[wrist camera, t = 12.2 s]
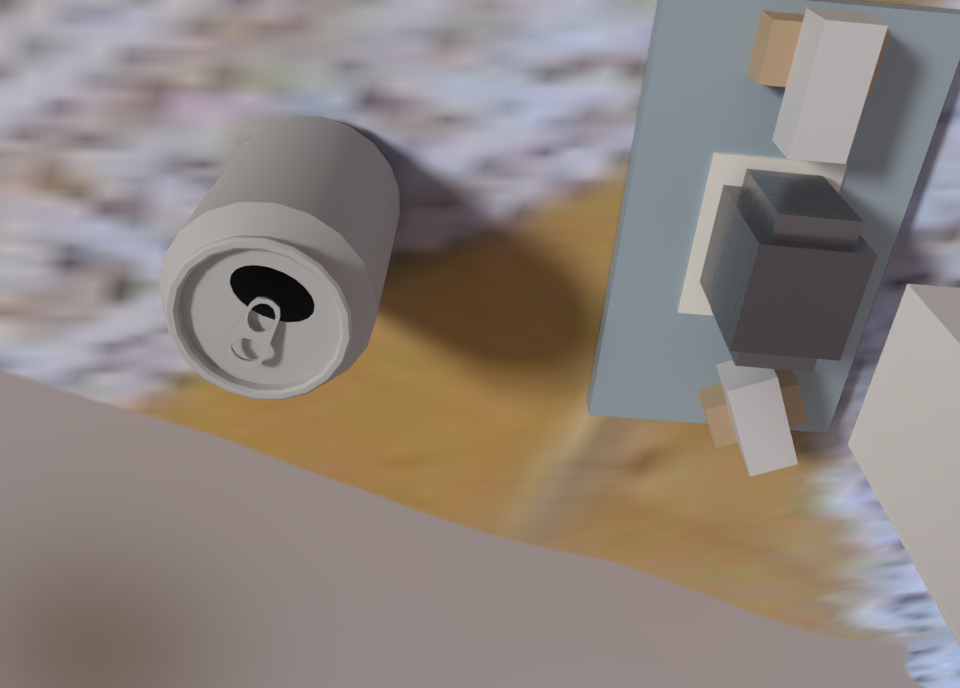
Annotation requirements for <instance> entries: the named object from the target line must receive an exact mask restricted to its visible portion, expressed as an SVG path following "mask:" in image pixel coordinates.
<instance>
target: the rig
mask: <svg viewBox="0 0 960 688" xmlns="http://www.w3.org/2000/svg"><path fill="white" fill-rule="evenodd" d="M959 60H960V10H956V9H946V8H935V7H924V6H913V5H903V4H892V3H881V2H870V1H859V0H658V3H657V9H656V14H655V20H654V25H653V31H652V37H651V42H650V48H649V54H648V59H647V65H646V71H645V76H644V82H643V88H642V93H641V99H640V105H639V110H638V116H637V121H636V127H635V133H634V138H633V144H632V150H631V155H630V161H629V167H628V172H627V178H626V184H625V189H624V195H623V201H622V206H621V212H620V217H619V223H618V229H617V234H616V240H615V246H614V251H613V257H612V263H611V268H610V274H609V280H608V285H607V291H606V296H605V302H604V308H603V313H602V319H601V325H600V330H599V336H598V342H597V347H596V353H595V359H594V364H593V370H592V376H591V381H590V387H589V392H588V398H587V404H588V411H589V415H597V416H610V417H623V418H636V419H649V420H662V421H675V422H688V423H701V424H707V425H708V429H709V431H710V434H711V437H712V440H713V443H714V446H715V449H716V448H720V447H723V446H727V445H731V444H734V443H738V446H739V449H740V452H741V454H742V457H743V460H744V462H745V465H746V468H747V470H748V473H749V475H750V476H754V475H758V474H762V473H765V472H769V471H773V470H777V469H781V468H785V467H788V466H792V465H796V464H798V462H797V458H796V453H795V449H794V445H793V441H792V436H791V432H790V430H791V431H804V432H817V433H828V431H829V428H830V425H831V422H832V419H833V417H834V414H835V411H836V408H837V405H838V402H839V400H840V397H841V394H842V391H843V388H844V385H845V383H846V380H847V377H848V374H849V371H850V368H851V366H852V363H853V360H854V357H855V354H856V351H857V349H858V346H859V343H860V340H861V337H862V335H863V332H864V329H865V326H866V323H867V320H868V318H869V315H870V312H871V309H872V306H873V303H874V301H875V298H876V295H877V292H878V289H879V286H880V284H881V281H882V278H883V275H884V272H885V269H886V267H887V264H888V261H889V258H890V255H891V252H892V250H893V247H894V244H895V241H896V238H897V235H898V233H899V230H900V227H901V224H902V221H903V218H904V216H905V213H906V210H907V207H908V204H909V201H910V199H911V196H912V193H913V190H914V187H915V184H916V182H917V179H918V176H919V173H920V170H921V167H922V165H923V162H924V159H925V156H926V153H927V150H928V148H929V145H930V142H931V139H932V136H933V133H934V131H935V128H936V125H937V122H938V119H939V116H940V114H941V111H942V108H943V105H944V102H945V99H946V97H947V94H948V91H949V88H950V85H951V82H952V80H953V77H954V74H955V71H956V68H957V65H958V63H959ZM746 169H756V170H767V171H777V172H788V173H799V174H809V175H820V176H824V178H825V179H826V180H827V181H828V182H829V183H830V184H831V185H832V187H833V188H834V189H835V190H836V191H837V192H838V193H839V194H840V196H841V197H842V198H843V199H844V200H845V201H846V202H847V203H848V205H849V206H850V207H851V208H852V209H853V210H854V211H855V212H856V214H857V215H858V216H859V217H860V218H861V219H862V220H863V221H864V224H863V227H862V230H861V233H860V235H861V237H862V238H863V239H864V240H865V241H866V242H867V244H868V245H869V246H870V247H871V248H872V249H873V251H874V252H875V253H876V254H877V258H876V260H875V263H874V266H873V269H872V272H871V274H870V277H869V280H868V283H867V286H866V289H865V291H864V294H863V297H862V300H861V303H860V306H859V308H858V311H857V314H856V317H855V320H854V322H853V325H852V328H851V331H850V334H849V337H848V339H847V342H846V345H845V348H844V351H843V354H842V356H841V359H840V361H837V360H826V359H818V360H817V362H816V365H815V368H814V371H813V372H802V371H791V370H779V369H768V368H756V367H745V366H735V364H734V362H733V359H732V357H731V355H730V352H729V350H728V348H727V345H726V343H725V341H724V338H723V336H722V334H721V331H720V329H719V327H718V325H717V322H716V320H715V318H714V315H713V313H712V311H711V307H710V304H709V302H708V300H707V297H706V295H705V293H704V290H703V288H702V286H701V283H700V278H701V274H702V270H703V266H704V262H705V258H706V254H707V250H708V246H709V242H710V238H711V233H712V229H713V225H714V221H715V217H716V213H717V209H718V205H719V201H720V197H721V193H722V189H723V185H730V186H741V187H742V185H743V181H744V177H745V173H746Z"/></svg>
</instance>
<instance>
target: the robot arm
mask: <svg viewBox="0 0 960 688" xmlns="http://www.w3.org/2000/svg"><path fill="white" fill-rule="evenodd" d="M848 446H849V448H850V450H851V452H852V453H853V455H854V457H855V459H856V461H857V462H858V464H859V466H860V468H861V470H862V471H863V473H864V475H865V477H866V479H867V480H868V482H869V484H870V486H871V488H872V489H873V491H874V493H875V495H876V497H877V498H878V500H879V502H880V504H881V506H882V507H883V509H884V511H885V513H886V515H887V516H888V518H889V520H890V522H891V524H892V526H893V527H894V529H895V531H896V533H897V535H898V536H899V538H900V540H901V542H902V544H903V545H904V547H905V549H906V551H907V553H908V554H909V556H910V558H911V560H912V562H913V563H914V565H915V567H916V569H917V571H918V572H919V574H920V576H921V578H922V580H923V581H924V583H925V585H926V587H927V589H928V590H929V592H930V594H931V596H932V598H933V599H934V601H935V603H936V605H937V607H938V609H939V610H940V612H941V614H942V616H943V618H944V619H945V621H946V623H947V625H948V627H949V628H950V630H951V632H952V634H953V636H954V637H955V639H956V641H957V643H958V645H959V646H960V288H955V287H942V286H930V285H918V284H907V286H906V289H905V291H904V294H903V297H902V300H901V302H900V305H899V308H898V310H897V313H896V316H895V318H894V321H893V324H892V327H891V329H890V332H889V335H888V337H887V340H886V343H885V345H884V348H883V351H882V354H881V356H880V359H879V362H878V364H877V367H876V370H875V372H874V375H873V378H872V381H871V383H870V386H869V389H868V391H867V394H866V397H865V399H864V402H863V405H862V408H861V410H860V413H859V416H858V418H857V421H856V424H855V426H854V429H853V432H852V435H851V437H850V440H849V443H848Z"/></svg>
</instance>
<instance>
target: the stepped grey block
mask: <svg viewBox="0 0 960 688" xmlns="http://www.w3.org/2000/svg"><path fill="white" fill-rule="evenodd" d="M863 224H864V221H863V220H862V219H861V218H860V217H859V216H858V215H857V214H856V212H855V211H854V210H853V209H852V208H851V207H850V206H849V205H848V203H847V202H846V201H845V200H844V199H843V198H842V197H841V196H840V194H839V193H838V192H837V191H836V190H835V189H834V188H833V187H832V185H831V184H830V183H829V182H828V181H827V180H826V179H825V178H824V176H820V175H809V174H799V173H788V172H777V171H767V170H756V169H746V173H745V177H744V181H743V185H742V187H741V186H730V185H723V189H722V193H721V197H720V201H719V205H718V209H717V213H716V217H715V221H714V225H713V229H712V233H711V238H710V242H709V246H708V250H707V254H706V258H705V262H704V266H703V270H702V274H701V278H700V283H701V286H702V288H703V290H704V293H705V295H706V297H707V300H708V302H709V304H710V307H711V311H712V313H713V315H714V318H715V320H716V322H717V325H718V327H719V329H720V331H721V334H722V336H723V338H724V341H725V343H726V345H727V348H728V350H729V352H730V355H731V357H732V359H733V362H734V364H735V366H745V367H756V368H768V369H779V370H791V371H802V372H813V371H814V368H815V365H816V362H817V360H818V359H826V360H837V361H840V359H841V356H842V354H843V351H844V348H845V345H846V342H847V339H848V337H849V334H850V331H851V328H852V325H853V322H854V320H855V317H856V314H857V311H858V308H859V306H860V303H861V300H862V297H863V294H864V291H865V289H866V286H867V283H868V280H869V277H870V274H871V272H872V269H873V266H874V263H875V260H876V258H877V254H876V253H875V252H874V251H873V249H872V248H871V247H870V246H869V245H868V244H867V242H866V241H865V240H864V239H863V238H862V237H861V235H860V233H861V230H862V227H863Z"/></svg>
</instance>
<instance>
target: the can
mask: <svg viewBox="0 0 960 688" xmlns="http://www.w3.org/2000/svg"><path fill="white" fill-rule="evenodd" d="M399 217H400V194H399V187H398V184H397V182H396V179H395V176H394V174H393V171H392V168H391V165H390V164H389V162H388V161H387V160H386V159H385V157H384V156H383V155H382V153H381V152H380V151H379V150H378V148H377V147H376V146H375V144H374V143H373V142H372V141H370V140H369V139H367V138H366V137H364V136H363V135H362V134H360V133H359V132H357V131H356V130H355V129H353V128H352V127H350V126H348V125H345V124H342V123H339V122H336V121H333V120H330V119H327V118H324V117H310V116H293V117H290V118H286V119H283V120H280V121H277V122H273V123H270V124H268V125H266V126H265V127H264V128H262V129H261V130H260V131H258V132H257V133H256V134H254V135H253V136H252V137H250V138H249V139H248V140H247V141H246V142H245V143H244V145H243V146H242V148H241V149H240V150H239V152H238V153H237V154H236V156H235V157H234V158H233V160H232V161H231V162H230V164H229V165H228V166H227V168H226V169H225V170H224V172H223V173H222V175H221V176H220V177H219V179H218V180H217V181H216V183H215V184H214V185H213V187H212V188H211V189H210V191H209V192H208V193H207V195H206V196H205V197H204V199H203V200H202V202H201V203H200V204H199V206H198V207H197V208H196V210H195V211H194V212H193V214H192V215H191V216H190V218H189V219H188V220H187V222H186V223H185V225H184V226H183V227H182V229H181V230H180V231H179V233H178V235H177V236H176V238H175V239H174V241H173V243H172V244H171V246H170V247H169V249H168V250H167V252H166V254H165V255H164V259H163V265H162V270H161V276H160V281H159V288H160V294H161V299H162V305H163V310H164V315H165V317H166V321H167V326H168V332H169V335H170V336H171V338H172V340H173V342H174V344H175V345H176V347H177V349H178V351H179V353H180V354H181V356H182V358H183V359H184V360H185V361H186V362H187V363H188V364H189V365H190V366H191V367H192V368H193V369H194V370H195V371H196V372H197V373H199V374H200V375H201V376H202V377H203V378H205V379H206V380H208V381H210V382H212V383H213V384H215V385H217V386H219V387H220V388H222V389H224V390H226V391H227V392H231V393H235V394H238V395H242V396H245V397H249V398H252V399H268V400H284V399H288V398H292V397H296V396H300V395H304V394H308V393H310V392H311V391H313V390H315V389H316V388H318V387H319V386H321V385H323V384H325V383H327V382H328V381H330V380H332V379H333V378H335V377H337V376H338V375H340V374H342V373H343V372H345V371H346V370H348V369H349V368H350V367H351V366H352V365H353V363H354V362H355V361H356V360H357V359H358V357H359V356H360V355H361V354H362V352H363V351H364V350H365V349H366V347H367V345H368V342H369V339H370V336H371V333H372V330H373V327H374V324H375V321H376V317H377V313H378V309H379V304H380V300H381V296H382V291H383V287H384V283H385V278H386V274H387V269H388V265H389V261H390V256H391V252H392V248H393V243H394V239H395V235H396V230H397V226H398V222H399Z"/></svg>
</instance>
